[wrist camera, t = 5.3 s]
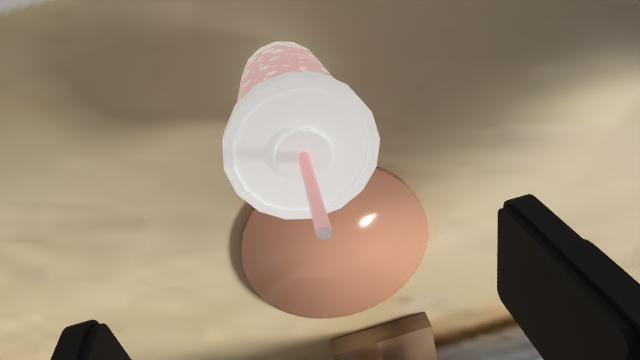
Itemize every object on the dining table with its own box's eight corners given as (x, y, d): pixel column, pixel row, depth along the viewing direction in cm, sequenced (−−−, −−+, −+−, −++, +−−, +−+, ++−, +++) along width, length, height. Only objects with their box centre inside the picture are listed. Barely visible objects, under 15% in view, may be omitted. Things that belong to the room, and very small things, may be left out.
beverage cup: (355, 97, 26) (457, 248, 14) (268, 151, 26) (291, 338, 14) (301, 2, 22) (370, 89, 10) (204, 66, 23) (165, 214, 11)
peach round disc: (365, 123, 26) (369, 128, 26) (452, 250, 33) (457, 257, 32) (200, 236, 29) (199, 243, 28) (311, 334, 35) (313, 342, 34)
